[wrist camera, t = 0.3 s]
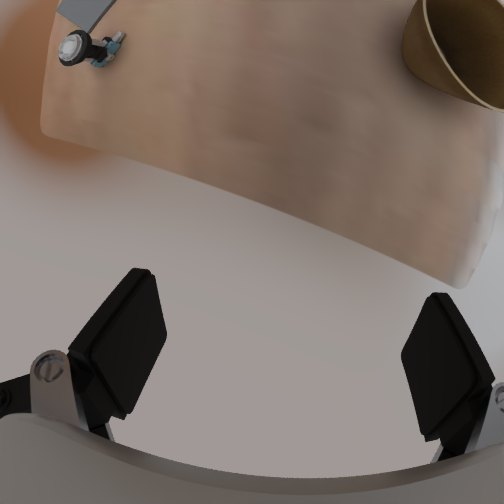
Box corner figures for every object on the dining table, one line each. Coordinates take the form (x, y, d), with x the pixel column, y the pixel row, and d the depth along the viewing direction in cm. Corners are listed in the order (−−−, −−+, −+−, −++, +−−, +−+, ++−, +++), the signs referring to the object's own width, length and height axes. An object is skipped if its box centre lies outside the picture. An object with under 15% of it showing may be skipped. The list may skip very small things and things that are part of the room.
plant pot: (450, 20, 20) (512, -3, 6) (469, 109, 27) (541, 121, 13) (363, 8, 23) (402, -41, 9) (386, 105, 30) (445, 105, 16)
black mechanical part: (117, 26, 27) (77, 14, 19) (134, 42, 29) (95, 31, 20) (91, 58, 30) (49, 54, 21) (107, 75, 32) (64, 72, 23)
